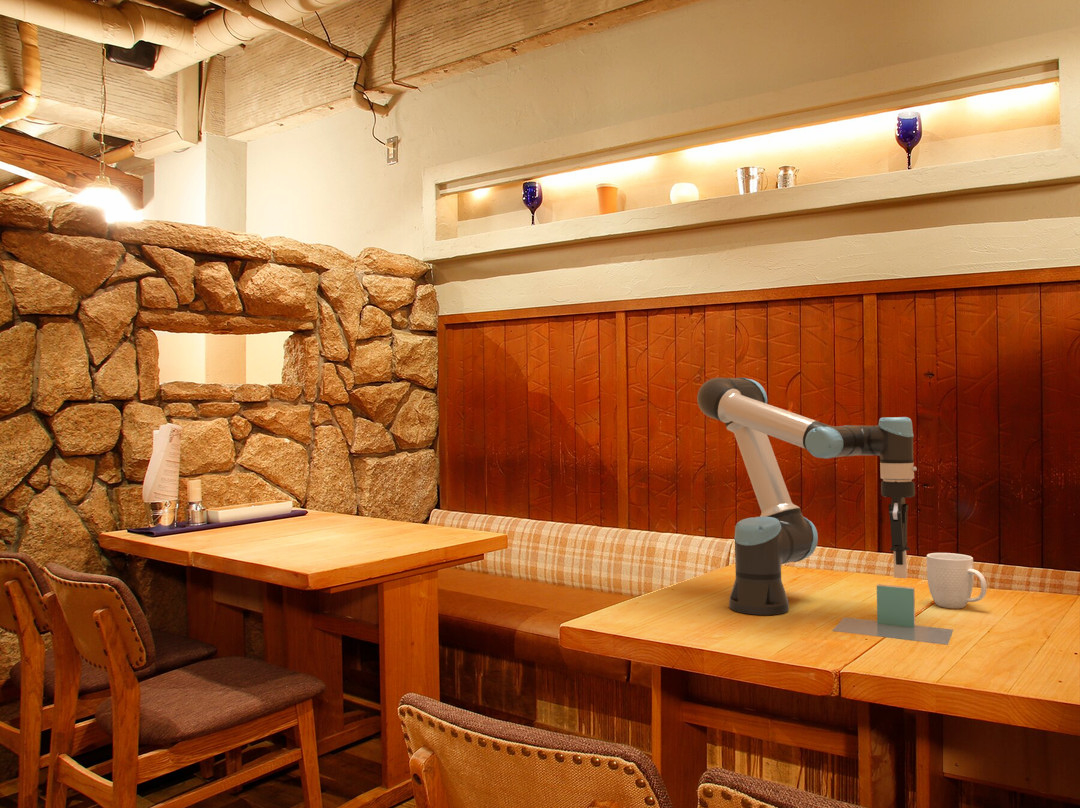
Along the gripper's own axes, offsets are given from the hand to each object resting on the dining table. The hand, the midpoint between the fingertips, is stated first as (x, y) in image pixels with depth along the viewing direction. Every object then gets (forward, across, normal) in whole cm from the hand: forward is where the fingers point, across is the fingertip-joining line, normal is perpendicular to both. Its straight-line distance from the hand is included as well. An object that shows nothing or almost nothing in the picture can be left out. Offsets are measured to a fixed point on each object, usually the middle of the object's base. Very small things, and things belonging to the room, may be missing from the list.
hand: (900, 577), depth 198 cm
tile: (+10, -6, 0) cm, 12 cm away
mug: (+11, +24, -10) cm, 28 cm away
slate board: (+11, -12, 0) cm, 16 cm away
